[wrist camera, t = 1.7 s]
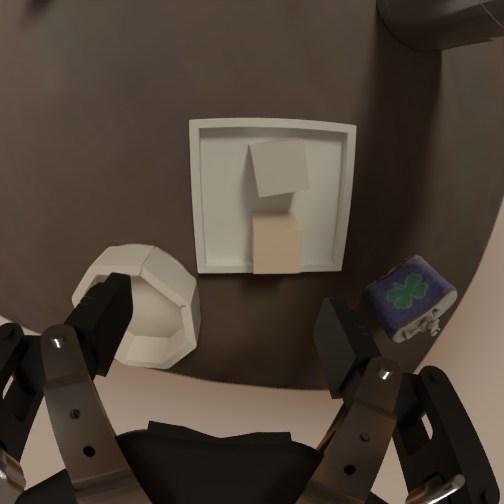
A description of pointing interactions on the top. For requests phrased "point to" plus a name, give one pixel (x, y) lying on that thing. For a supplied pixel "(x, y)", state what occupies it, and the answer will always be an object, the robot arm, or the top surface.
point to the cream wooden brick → (276, 243)
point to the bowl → (151, 304)
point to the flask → (410, 299)
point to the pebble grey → (279, 166)
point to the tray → (247, 199)
